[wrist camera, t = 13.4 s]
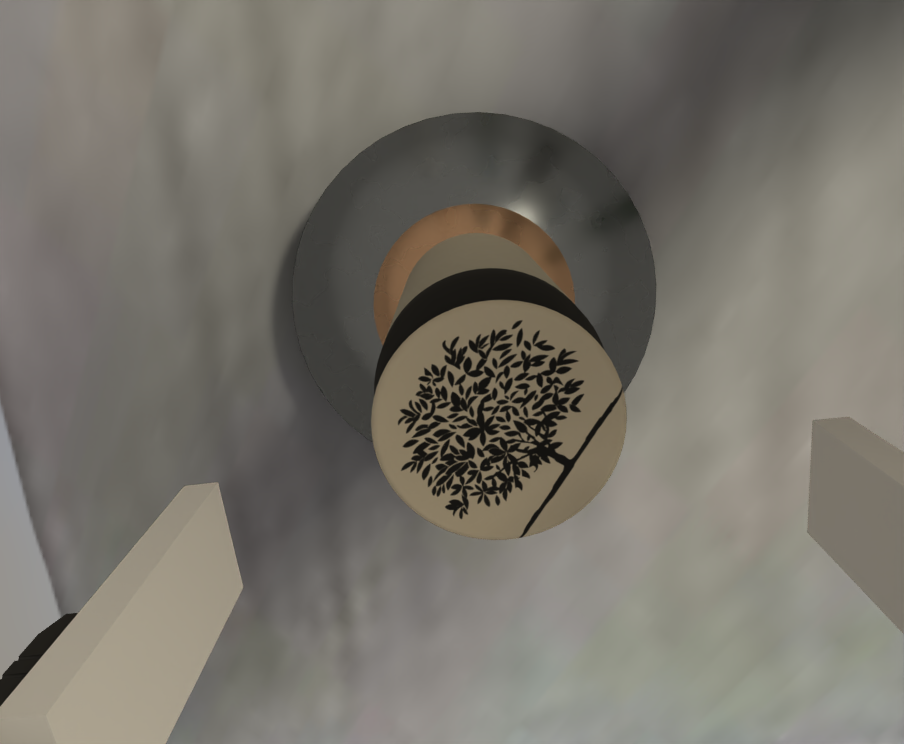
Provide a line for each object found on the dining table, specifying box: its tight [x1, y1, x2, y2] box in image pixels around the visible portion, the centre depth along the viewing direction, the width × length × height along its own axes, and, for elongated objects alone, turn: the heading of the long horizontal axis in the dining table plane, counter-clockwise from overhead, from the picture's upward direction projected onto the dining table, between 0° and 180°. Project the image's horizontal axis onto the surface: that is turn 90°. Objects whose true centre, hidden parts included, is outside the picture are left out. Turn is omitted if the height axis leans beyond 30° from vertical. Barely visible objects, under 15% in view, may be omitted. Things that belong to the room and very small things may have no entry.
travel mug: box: [371, 233, 627, 540], centre depth 28 cm, size 8×8×18 cm
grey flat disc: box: [292, 112, 656, 442], centre depth 38 cm, size 20×20×2 cm
